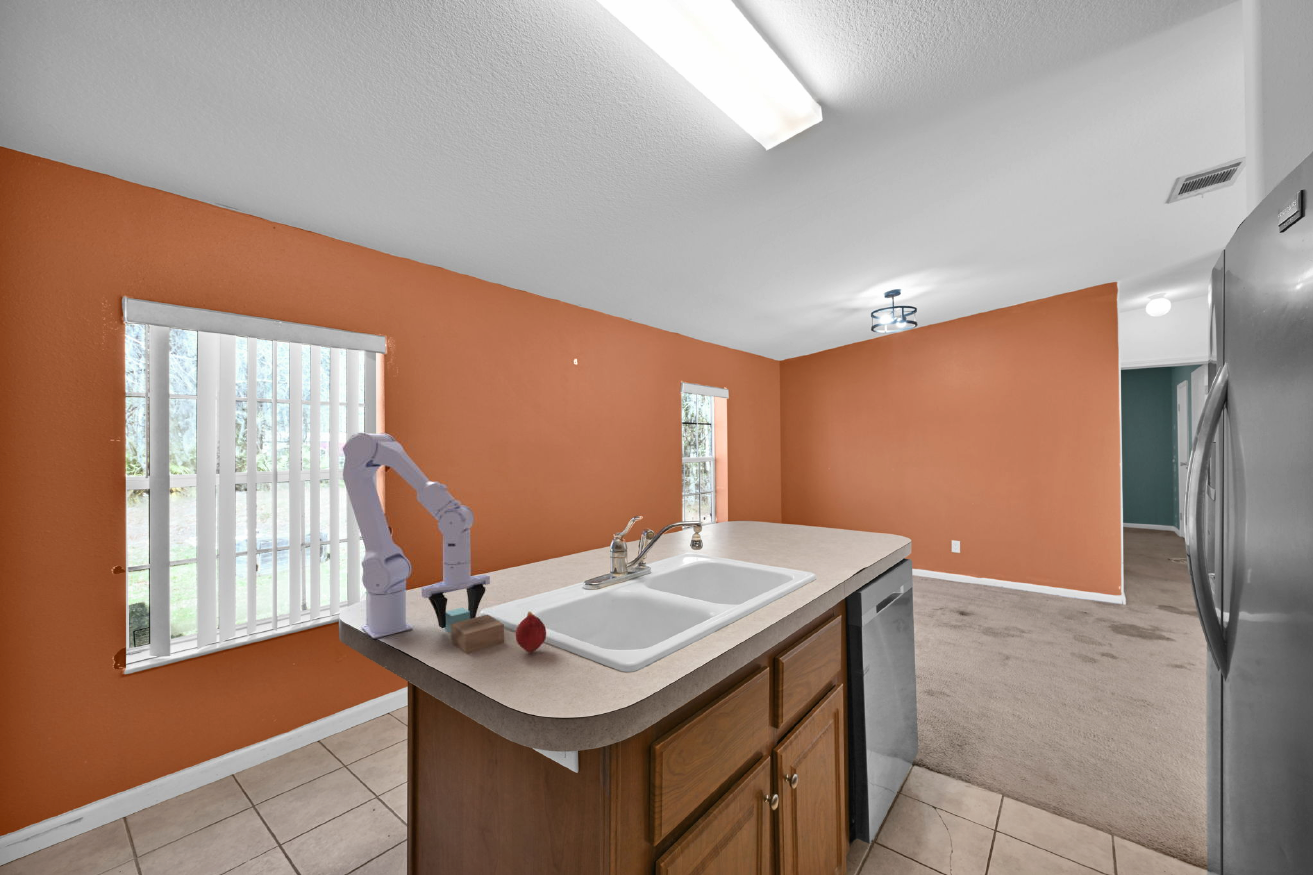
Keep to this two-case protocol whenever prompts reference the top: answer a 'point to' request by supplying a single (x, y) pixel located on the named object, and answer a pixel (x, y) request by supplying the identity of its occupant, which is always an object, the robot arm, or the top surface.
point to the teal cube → (456, 617)
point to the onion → (530, 633)
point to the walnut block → (477, 633)
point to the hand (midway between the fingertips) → (457, 622)
